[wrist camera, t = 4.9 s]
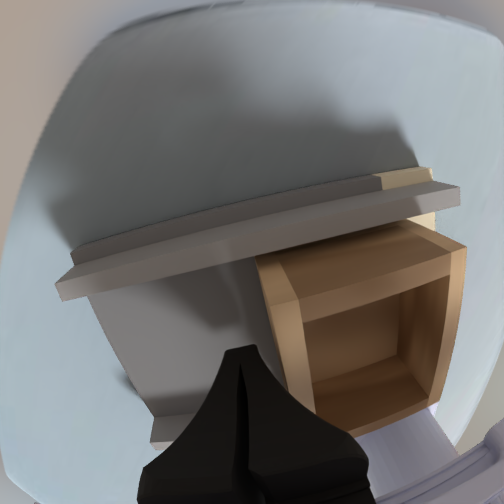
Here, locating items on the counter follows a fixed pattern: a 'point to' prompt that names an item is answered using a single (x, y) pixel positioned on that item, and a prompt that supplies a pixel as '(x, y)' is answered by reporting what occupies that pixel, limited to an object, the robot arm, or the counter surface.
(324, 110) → the counter surface
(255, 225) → the bay
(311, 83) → the counter surface
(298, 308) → the crate
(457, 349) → the counter surface
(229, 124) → the counter surface
